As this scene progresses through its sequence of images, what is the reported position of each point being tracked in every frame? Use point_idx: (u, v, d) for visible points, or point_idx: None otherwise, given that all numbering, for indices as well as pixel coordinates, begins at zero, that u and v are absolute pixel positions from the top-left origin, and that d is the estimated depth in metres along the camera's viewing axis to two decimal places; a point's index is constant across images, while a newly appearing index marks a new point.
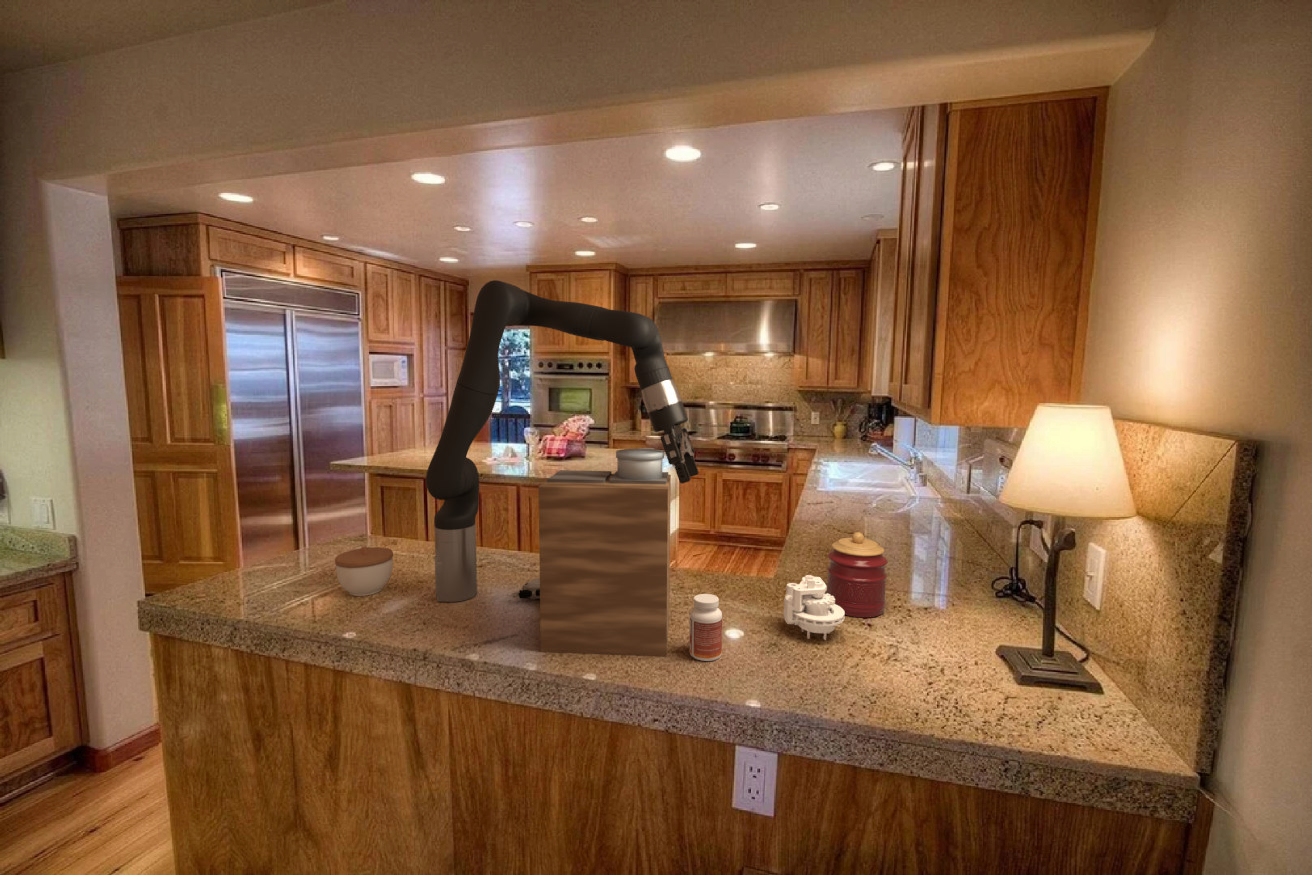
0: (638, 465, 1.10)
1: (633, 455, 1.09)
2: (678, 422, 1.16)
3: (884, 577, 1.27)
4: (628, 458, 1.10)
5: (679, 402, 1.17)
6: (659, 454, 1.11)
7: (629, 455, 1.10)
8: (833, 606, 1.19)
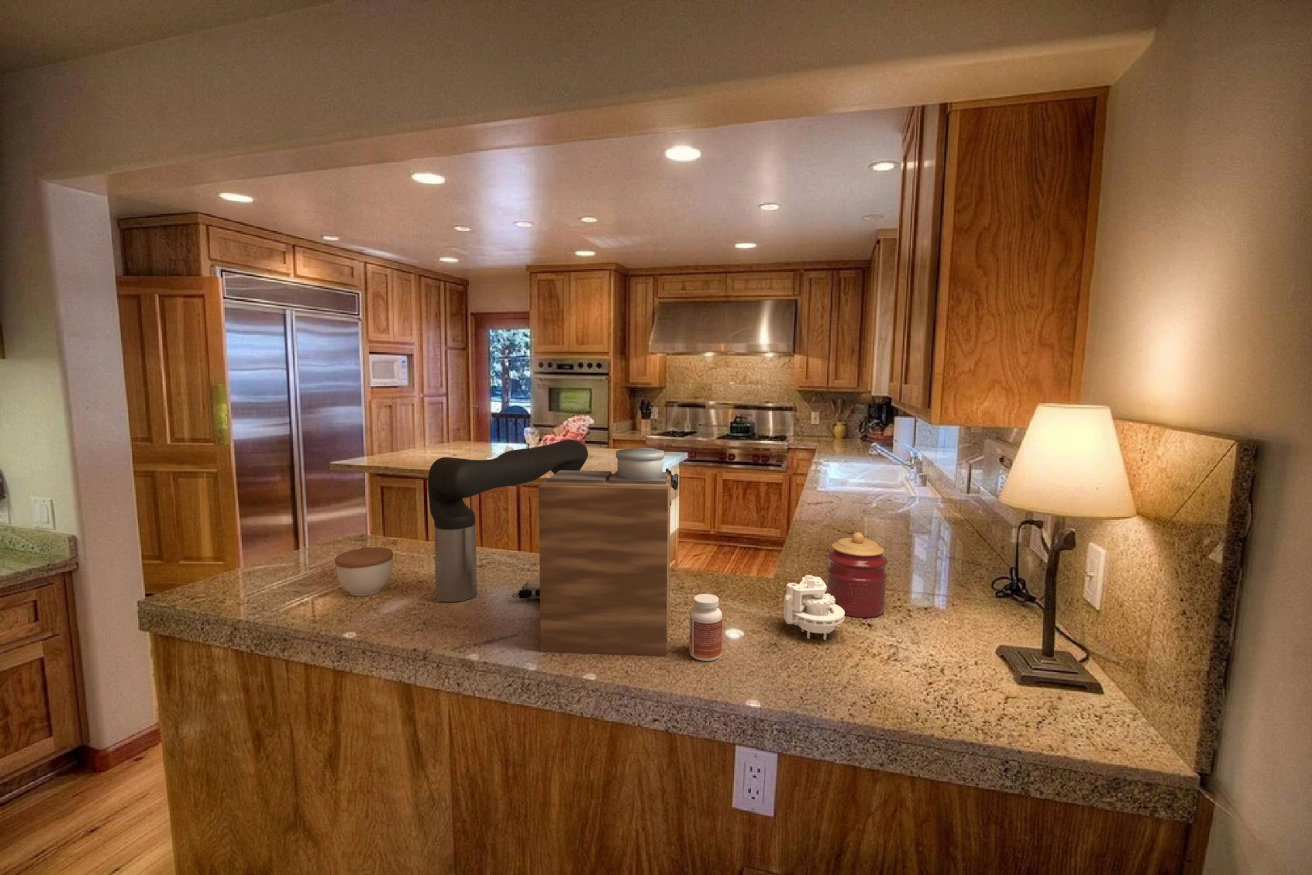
0: (638, 465, 1.10)
1: (633, 455, 1.09)
2: None
3: (884, 577, 1.27)
4: (628, 458, 1.10)
5: None
6: (659, 454, 1.11)
7: (629, 455, 1.10)
8: (833, 606, 1.19)
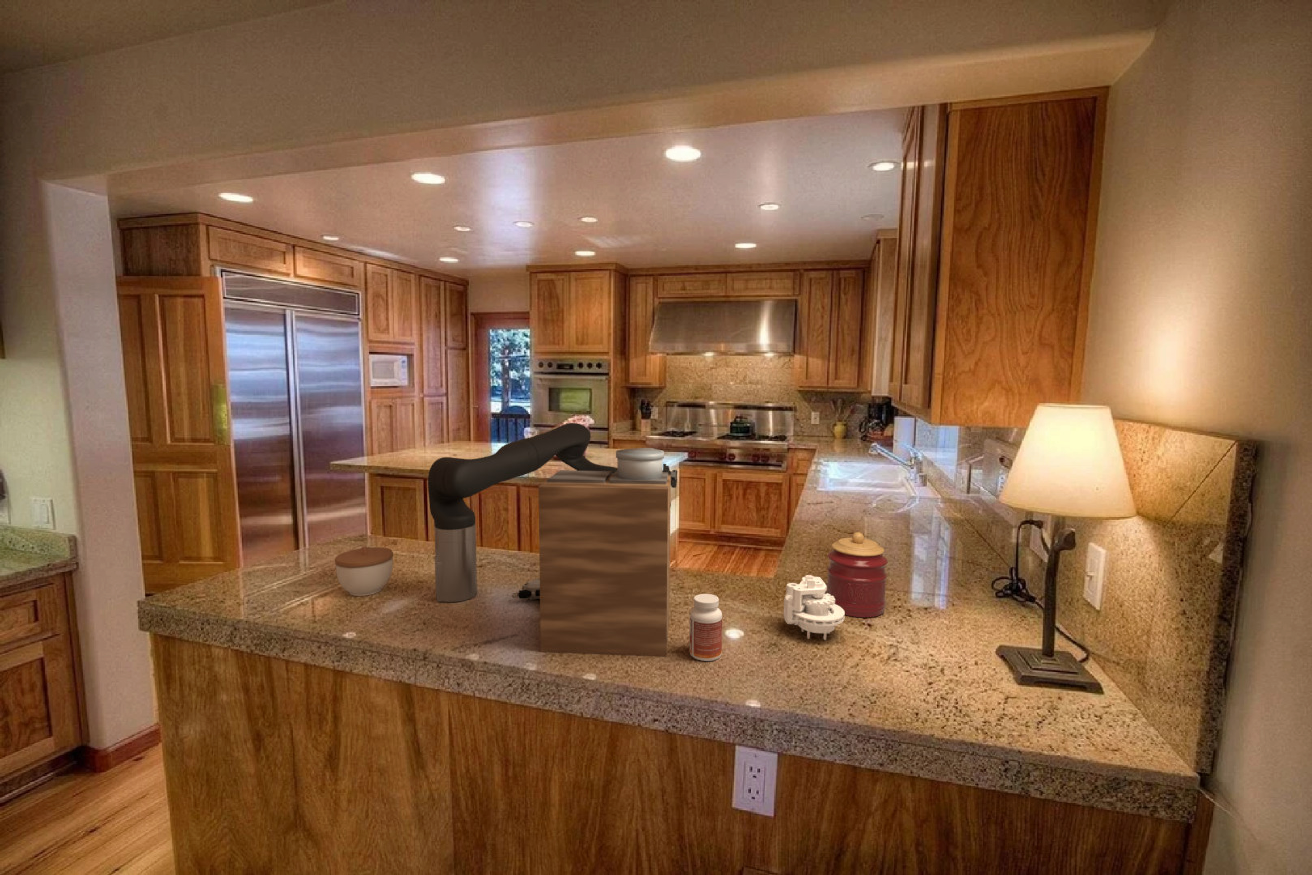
0: (638, 465, 1.10)
1: (633, 455, 1.09)
2: None
3: (884, 577, 1.27)
4: (628, 458, 1.10)
5: None
6: (659, 454, 1.11)
7: (629, 455, 1.10)
8: (833, 606, 1.19)
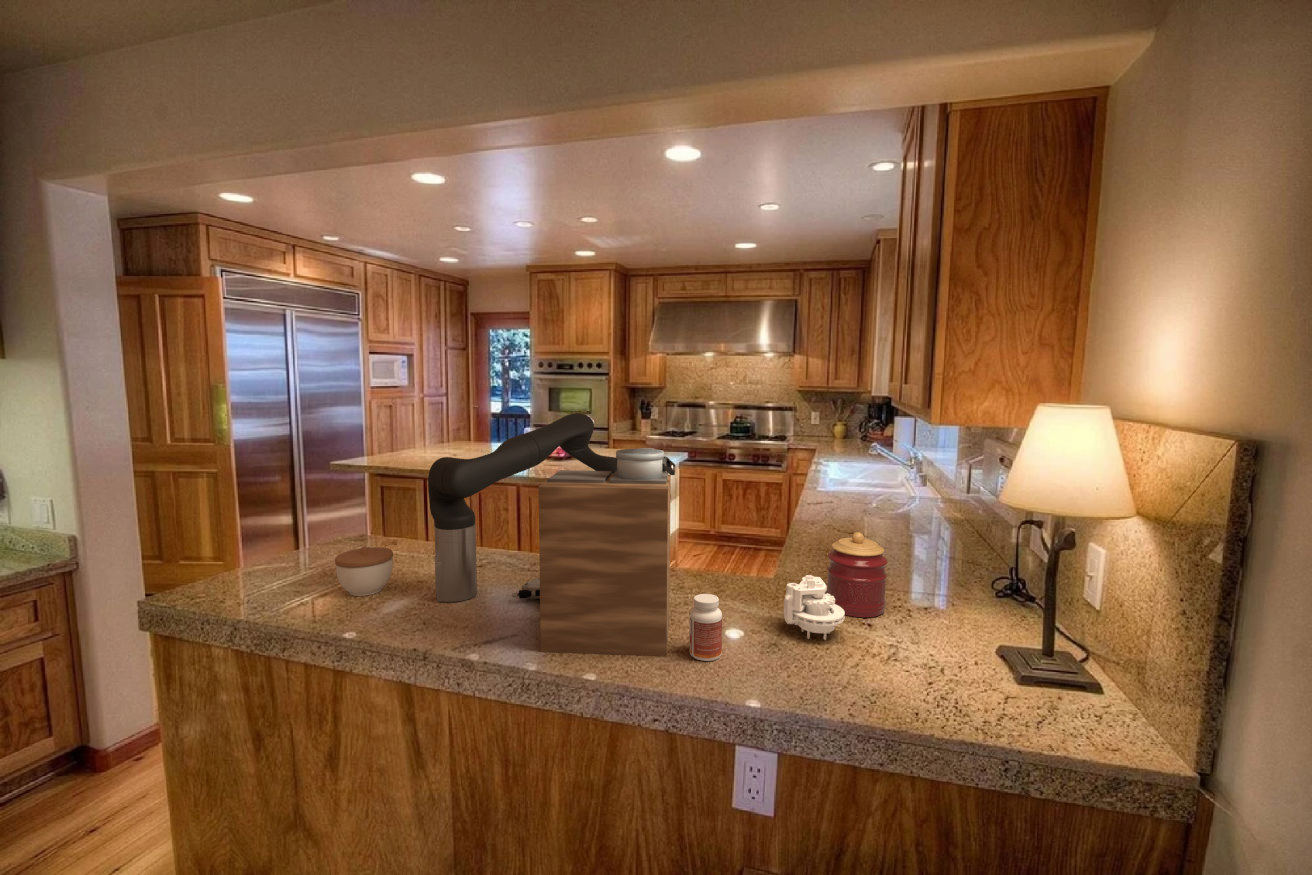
0: (638, 465, 1.10)
1: (633, 455, 1.09)
2: None
3: (884, 577, 1.27)
4: (628, 458, 1.10)
5: None
6: (659, 454, 1.11)
7: (629, 455, 1.10)
8: (833, 606, 1.19)
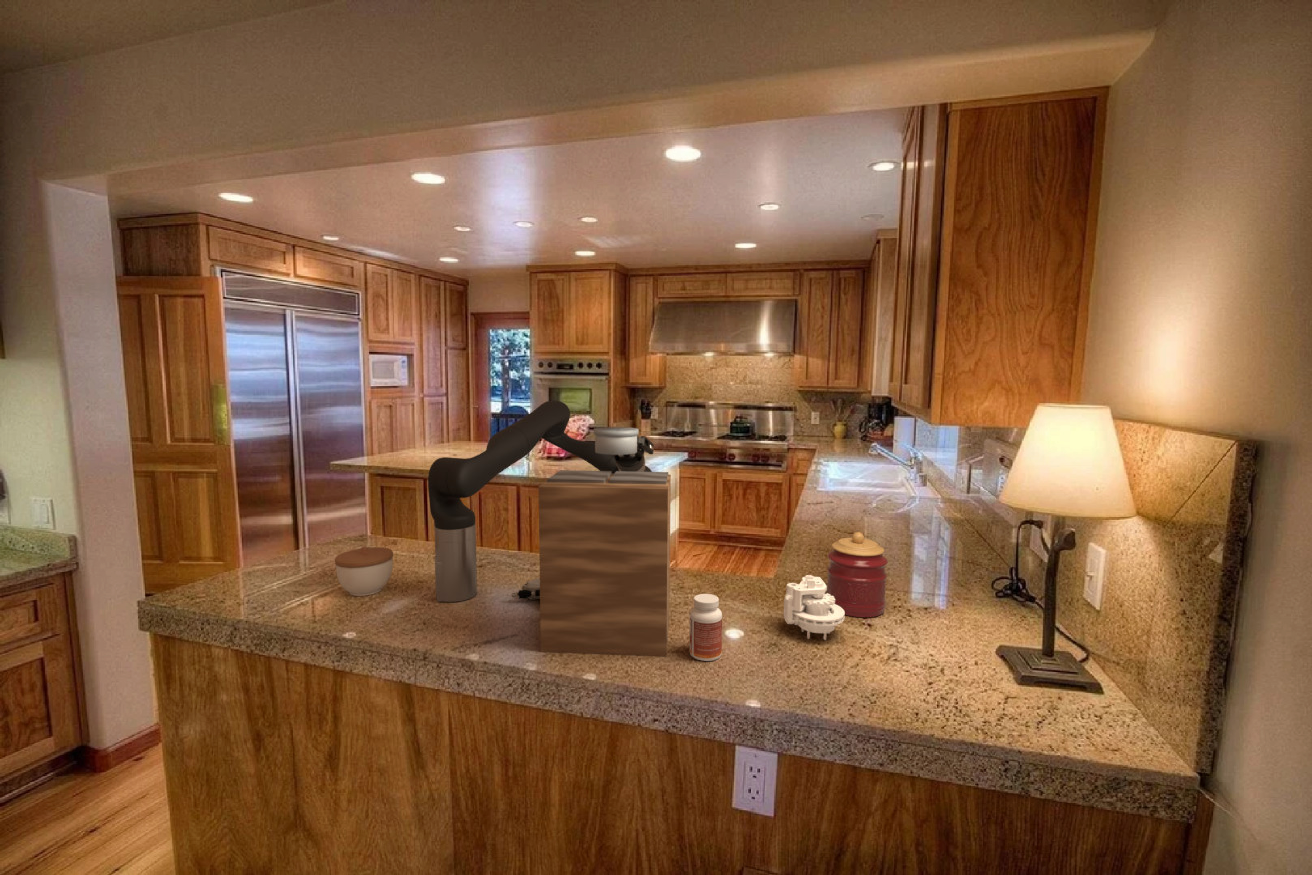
0: (613, 441, 1.19)
1: (608, 431, 1.19)
2: (638, 462, 1.44)
3: (884, 577, 1.27)
4: (604, 434, 1.19)
5: None
6: (633, 431, 1.20)
7: (605, 431, 1.19)
8: (833, 606, 1.19)
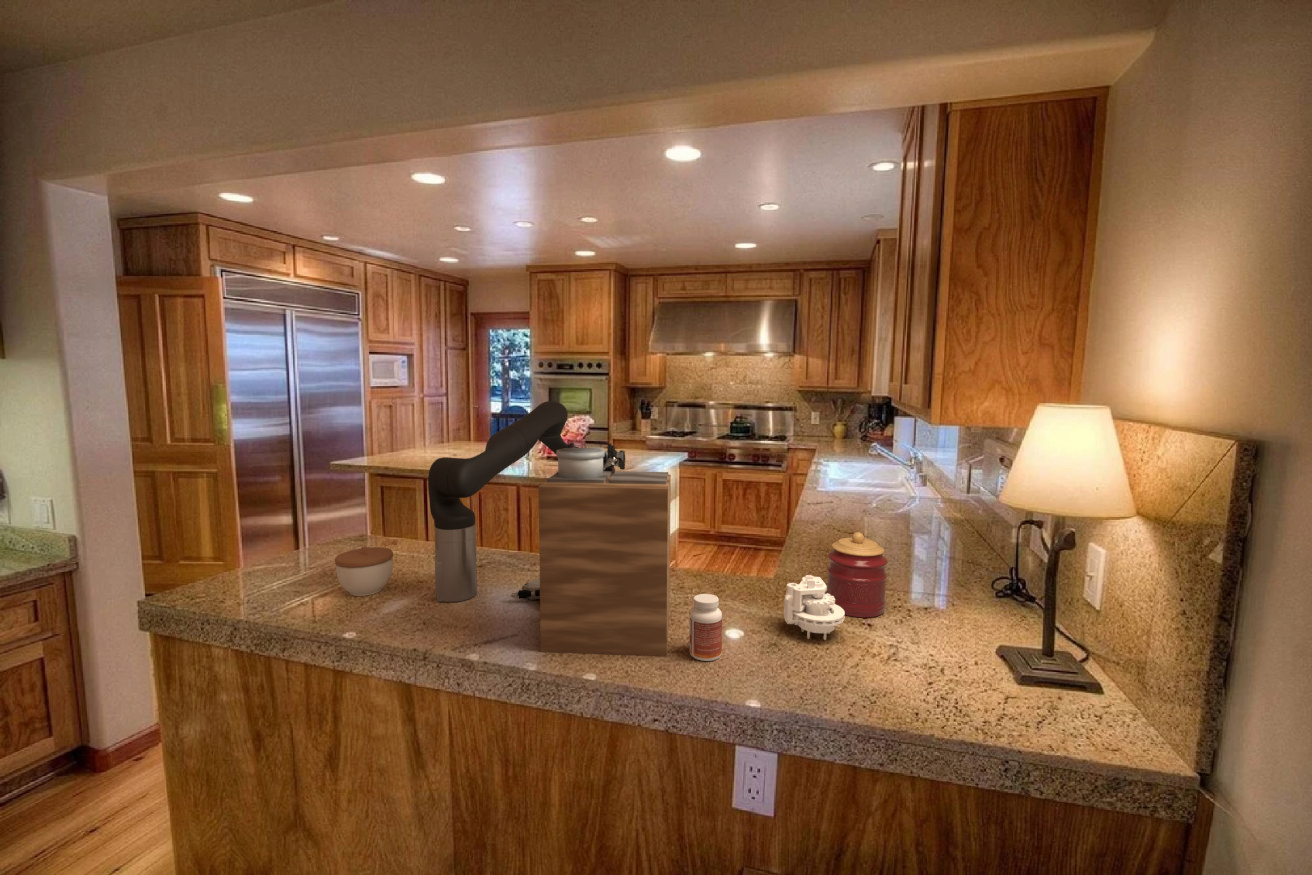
0: (577, 464, 1.11)
1: (571, 454, 1.10)
2: None
3: (884, 577, 1.27)
4: (567, 457, 1.11)
5: None
6: (598, 453, 1.12)
7: (567, 454, 1.10)
8: (833, 606, 1.19)
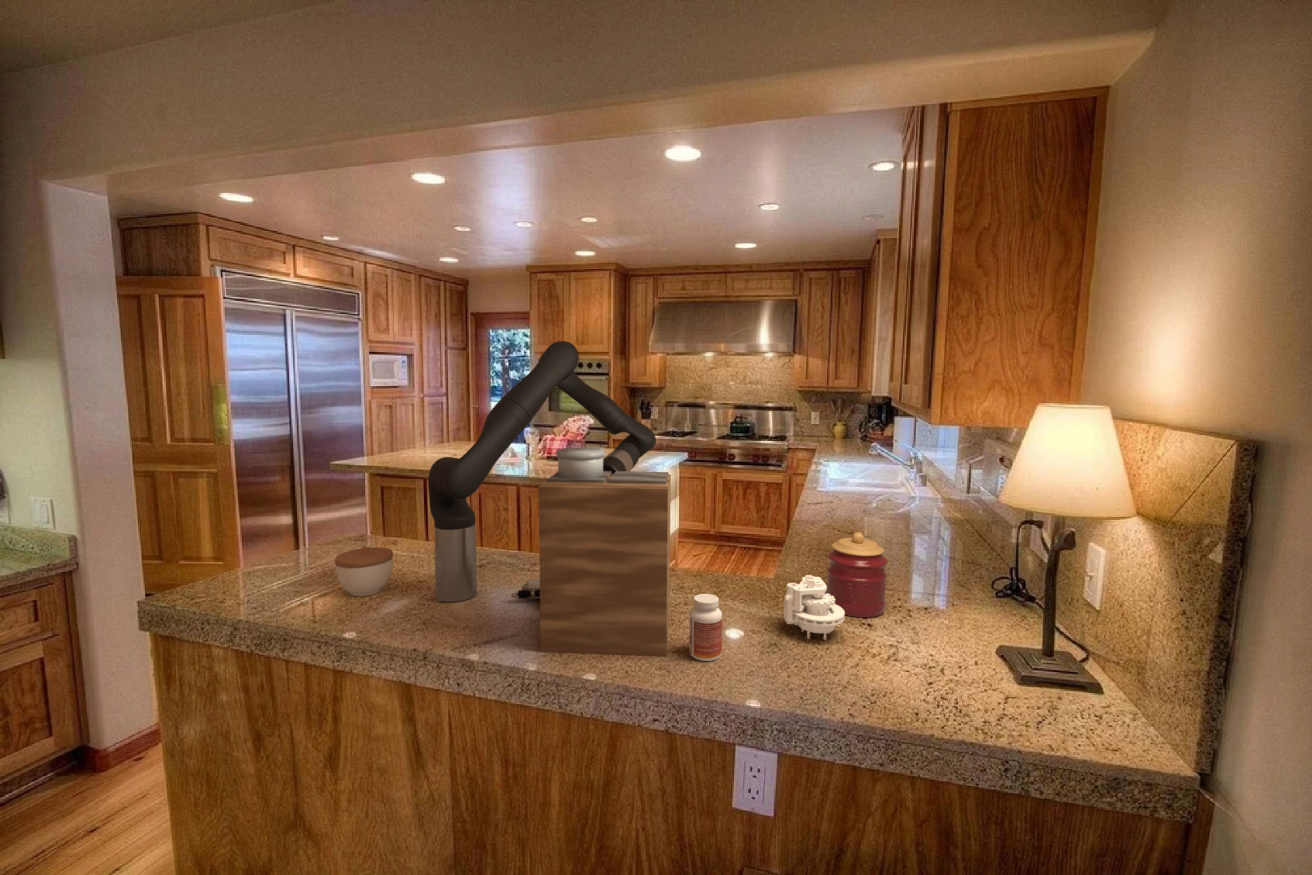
0: (577, 464, 1.11)
1: (571, 454, 1.10)
2: None
3: (884, 577, 1.27)
4: (567, 457, 1.11)
5: None
6: (598, 453, 1.12)
7: (567, 454, 1.10)
8: (833, 606, 1.19)
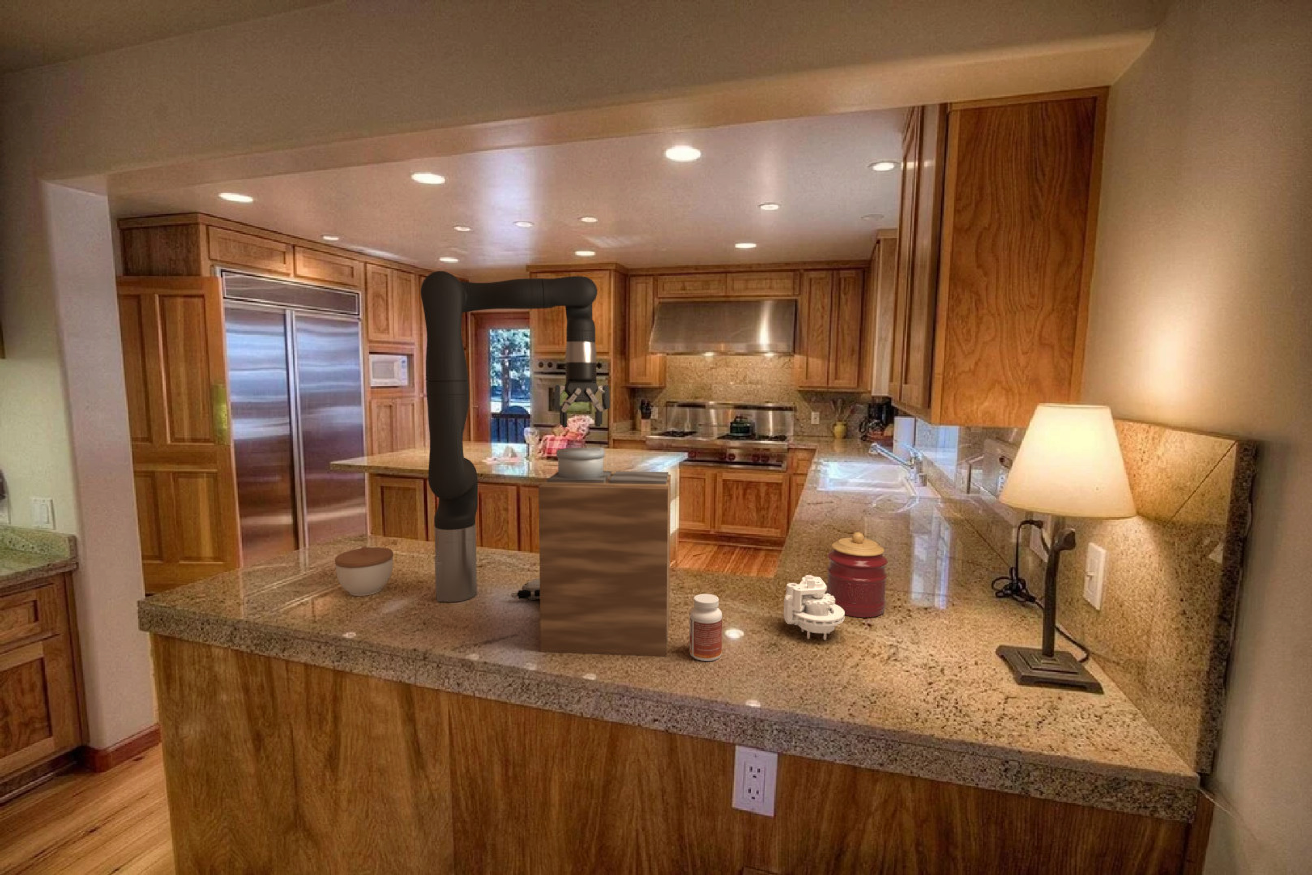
0: (577, 464, 1.11)
1: (571, 454, 1.10)
2: None
3: (884, 577, 1.27)
4: (567, 457, 1.11)
5: None
6: (598, 453, 1.12)
7: (567, 454, 1.10)
8: (833, 606, 1.19)
